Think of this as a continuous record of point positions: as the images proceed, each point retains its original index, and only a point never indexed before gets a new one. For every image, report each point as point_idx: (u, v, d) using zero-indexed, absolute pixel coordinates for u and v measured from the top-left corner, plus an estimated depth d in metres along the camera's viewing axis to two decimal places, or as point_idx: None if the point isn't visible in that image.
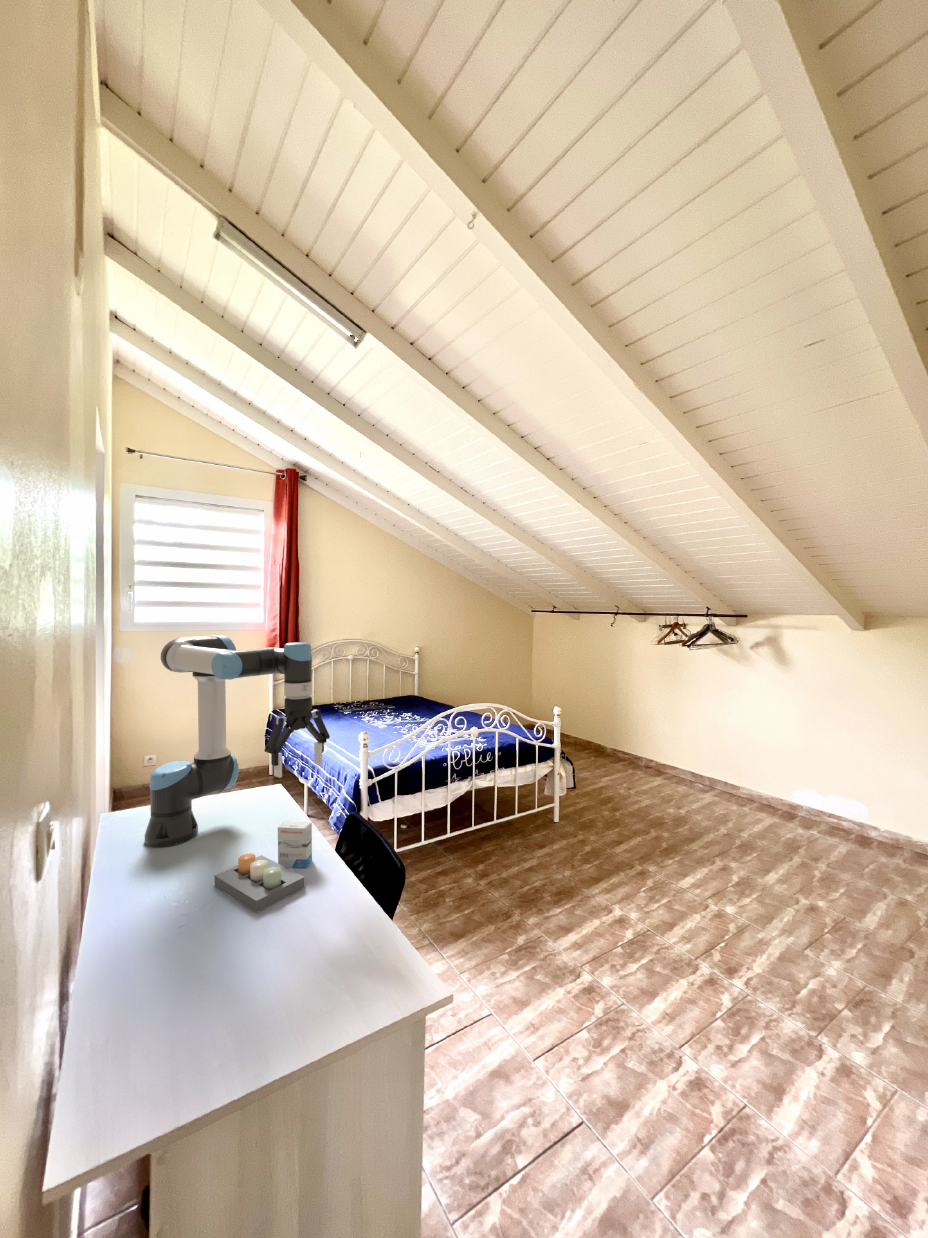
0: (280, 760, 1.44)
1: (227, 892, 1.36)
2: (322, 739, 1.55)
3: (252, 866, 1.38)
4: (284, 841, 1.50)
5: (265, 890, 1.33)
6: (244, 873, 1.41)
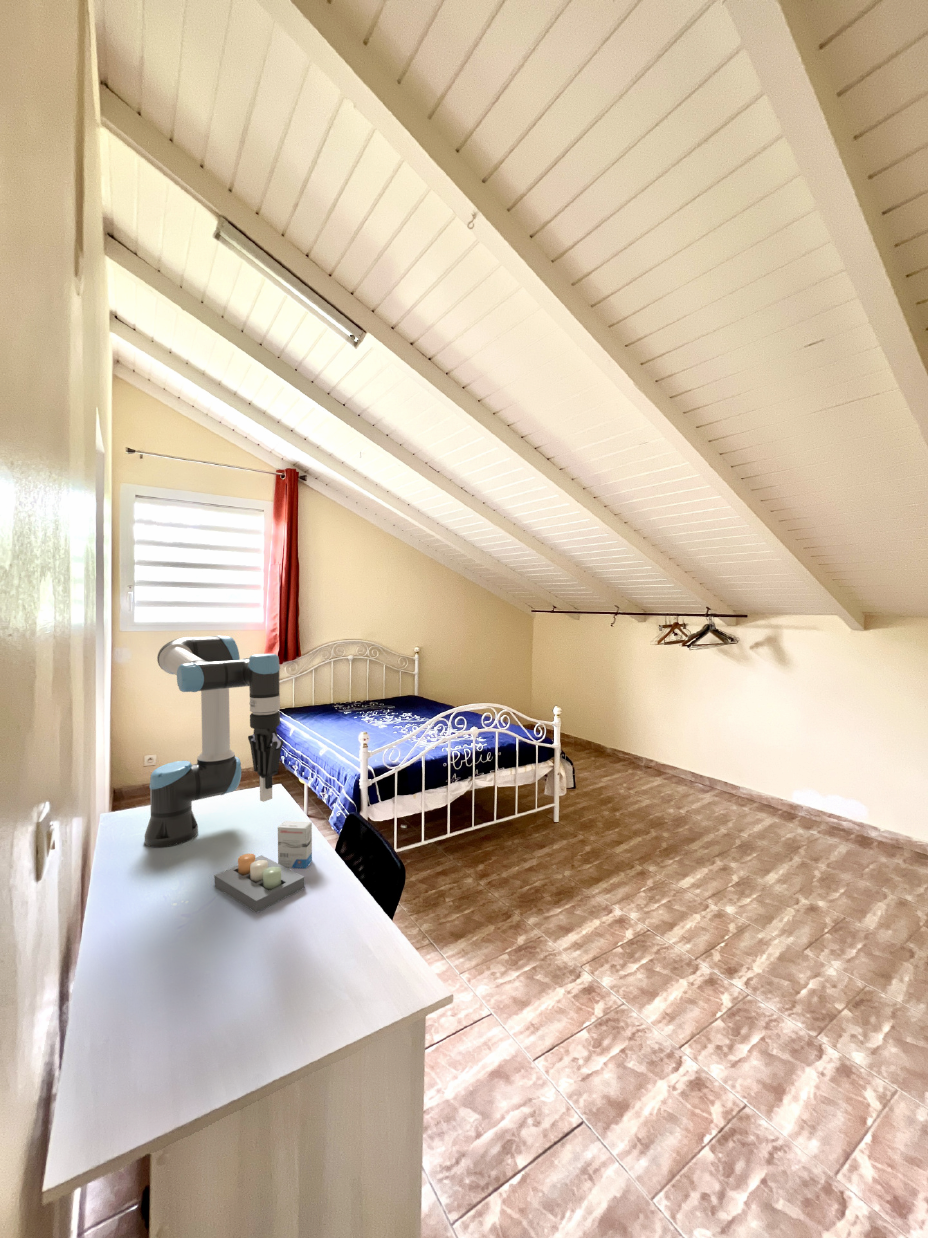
0: (260, 783, 1.39)
1: (227, 892, 1.36)
2: (264, 773, 1.38)
3: (252, 866, 1.38)
4: (284, 841, 1.50)
5: (265, 890, 1.33)
6: (244, 873, 1.41)
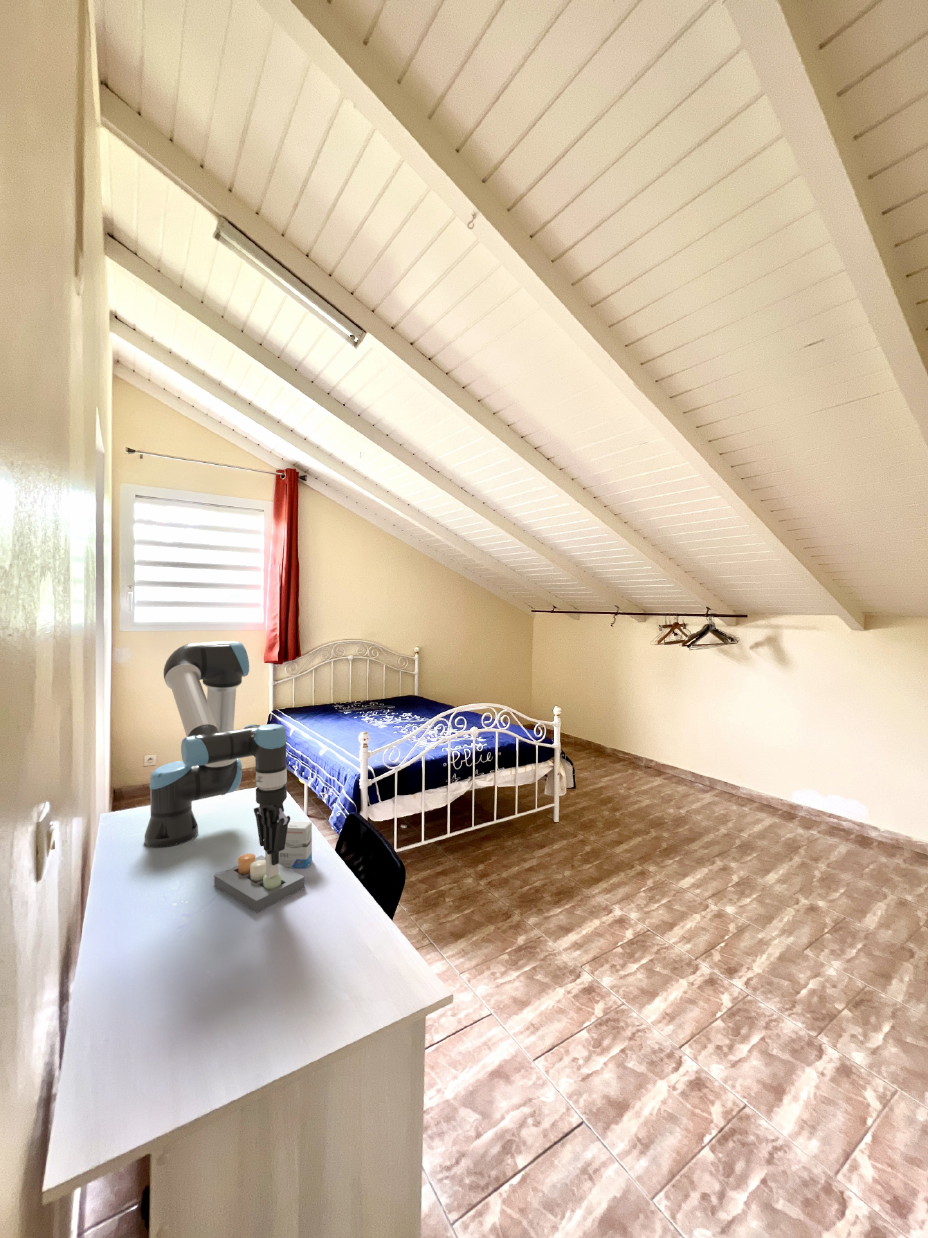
0: (266, 858, 1.35)
1: (227, 892, 1.36)
2: (270, 849, 1.34)
3: (252, 866, 1.38)
4: None
5: (265, 890, 1.33)
6: (244, 873, 1.41)
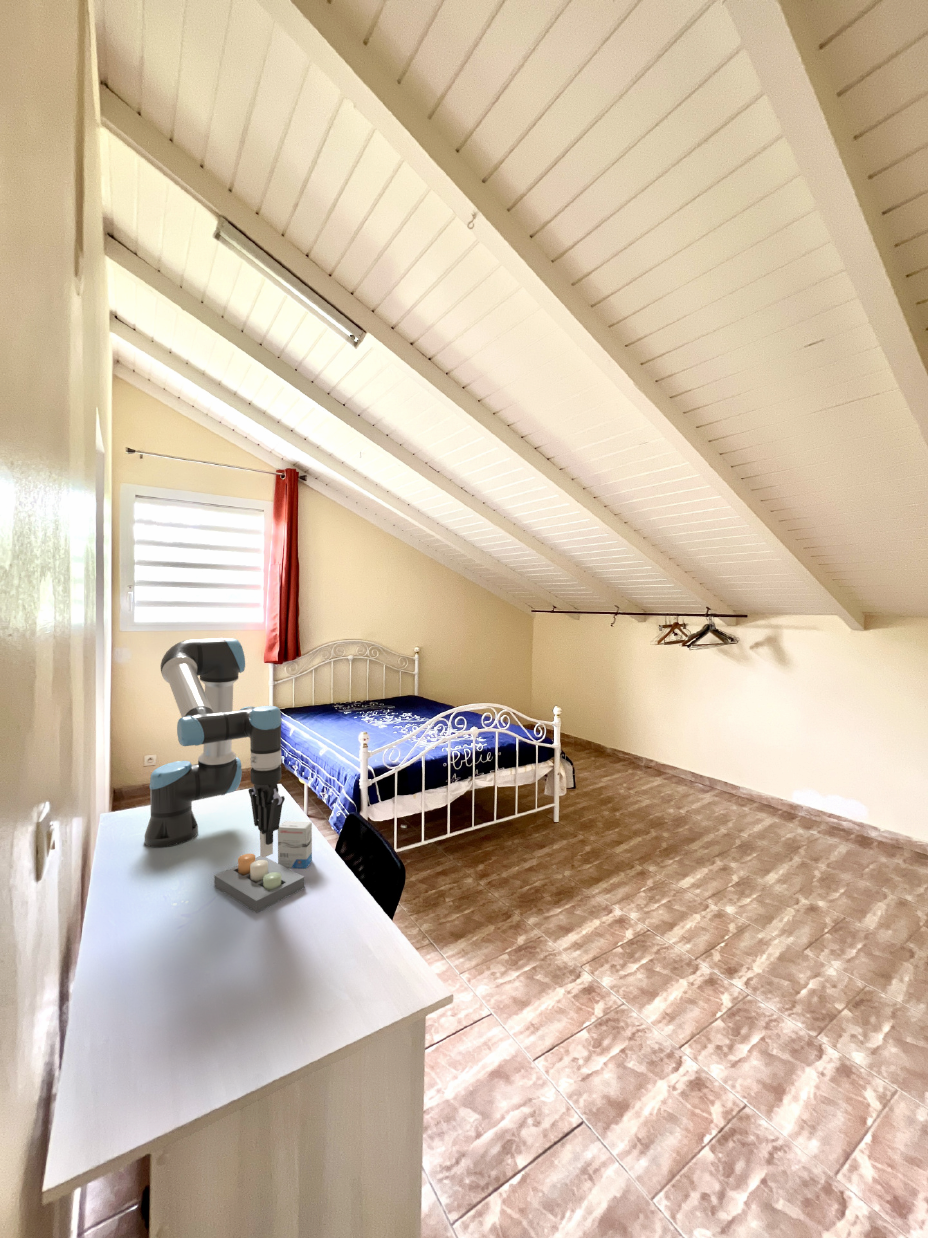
0: (261, 838, 1.37)
1: (227, 892, 1.36)
2: (264, 829, 1.36)
3: (252, 866, 1.38)
4: (284, 841, 1.50)
5: (265, 890, 1.33)
6: (244, 873, 1.41)
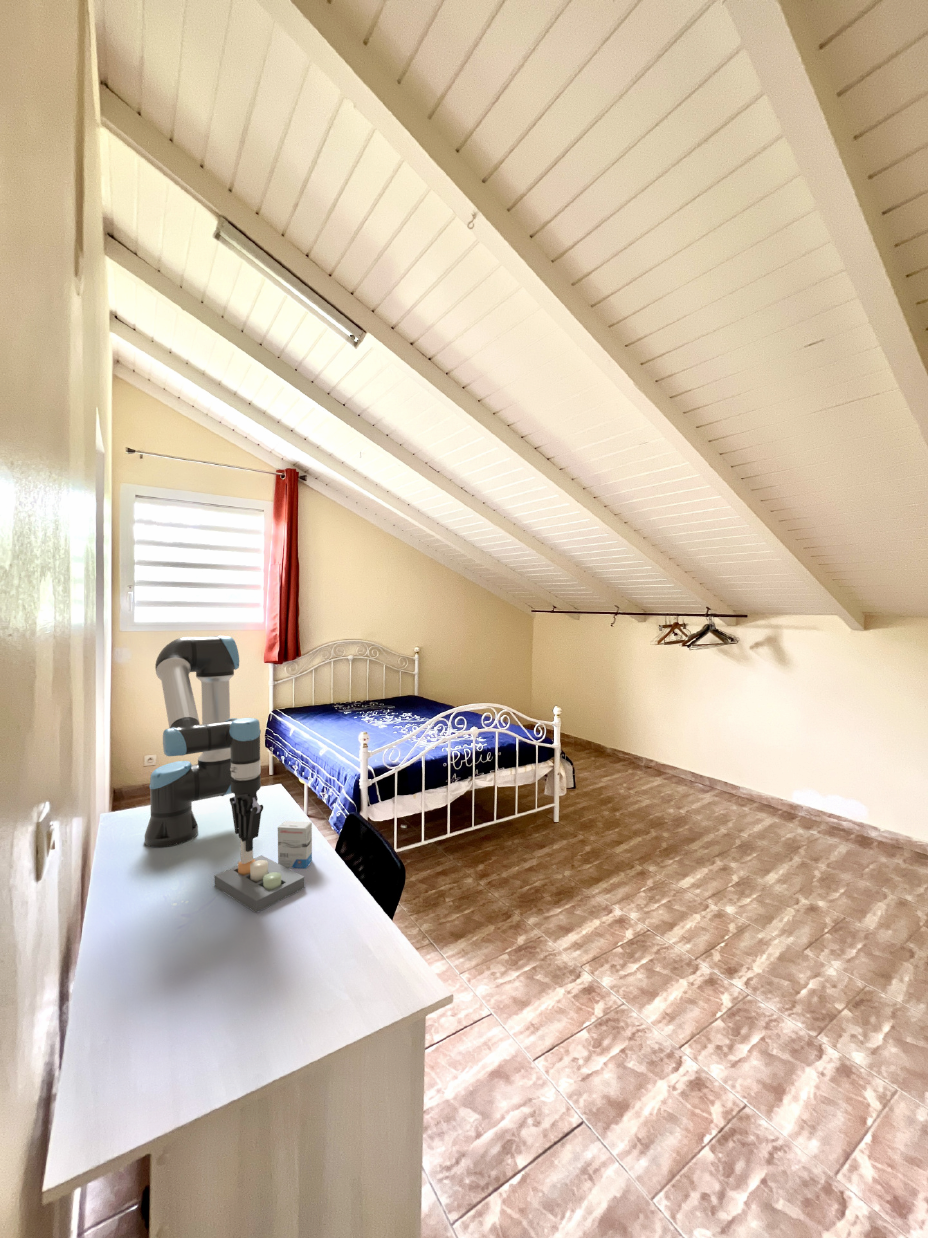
0: (241, 845, 1.42)
1: (227, 892, 1.36)
2: (244, 836, 1.41)
3: (252, 866, 1.38)
4: (284, 841, 1.50)
5: (265, 890, 1.33)
6: None
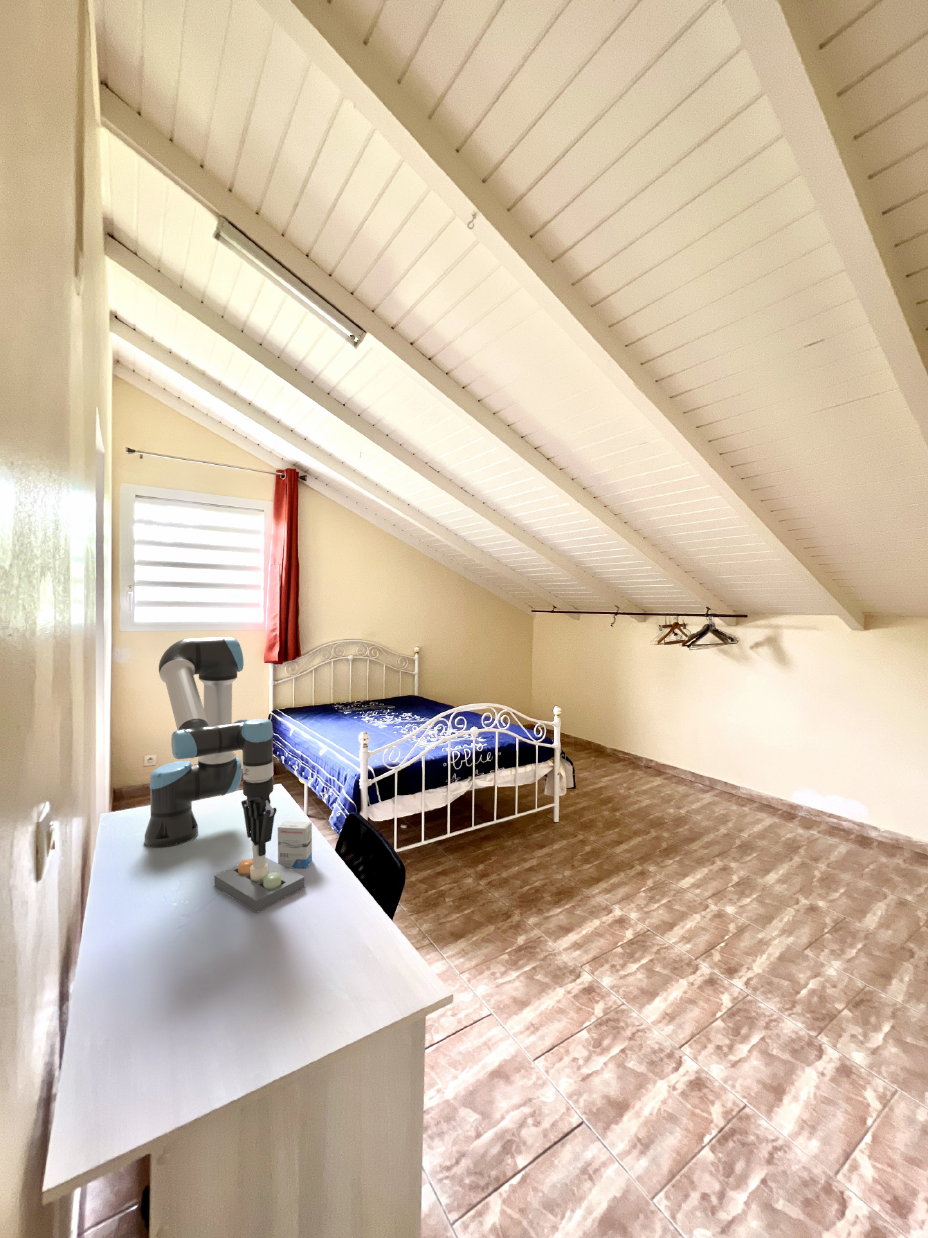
0: (253, 849, 1.38)
1: (227, 892, 1.36)
2: (257, 840, 1.37)
3: (252, 869, 1.38)
4: (284, 841, 1.50)
5: (265, 890, 1.33)
6: None
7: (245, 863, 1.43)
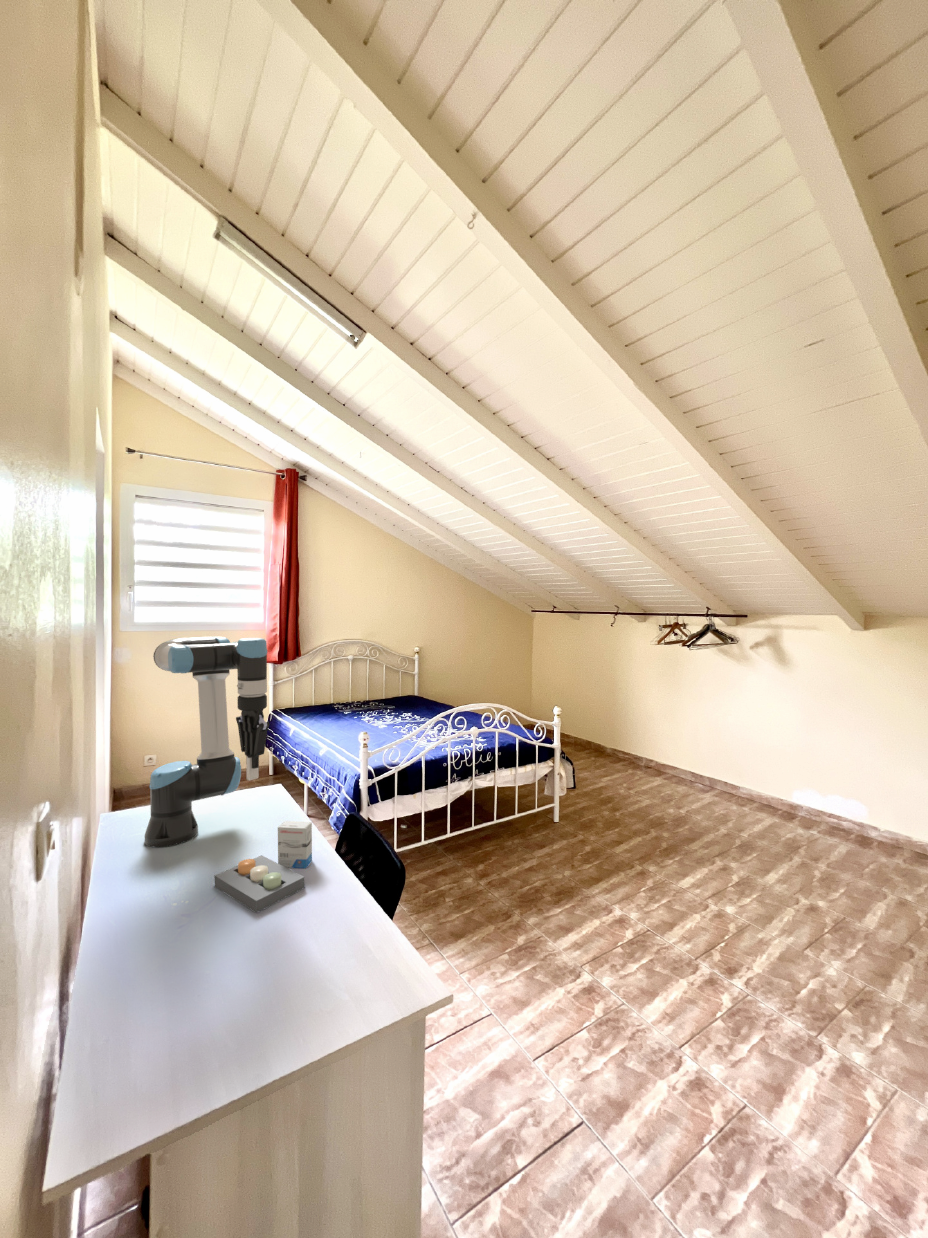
0: (247, 762, 1.44)
1: (227, 892, 1.36)
2: (250, 753, 1.43)
3: (252, 872, 1.38)
4: (284, 841, 1.50)
5: (265, 890, 1.33)
6: None
7: (245, 863, 1.43)
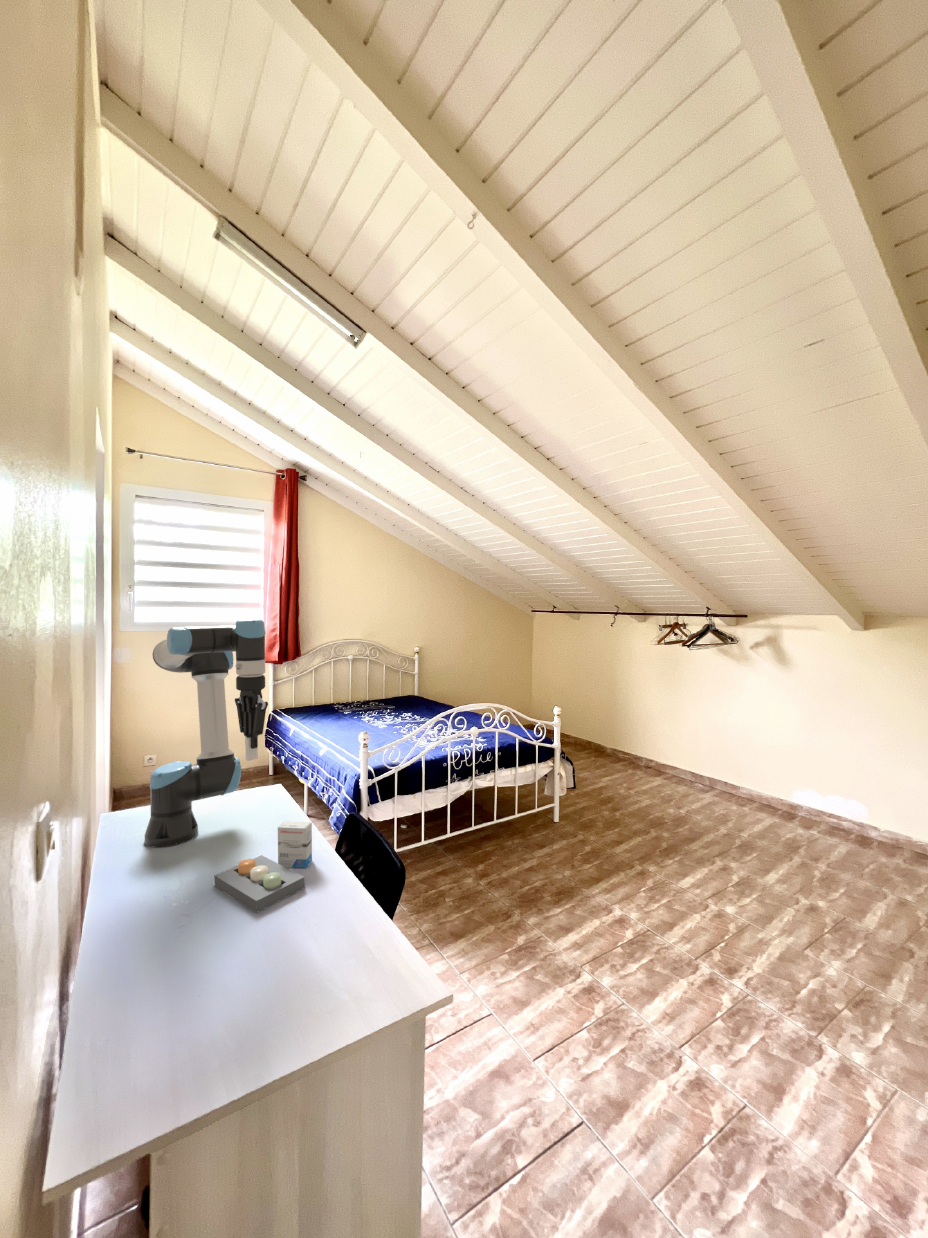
0: (246, 743, 1.45)
1: (227, 892, 1.36)
2: (249, 733, 1.44)
3: (252, 872, 1.38)
4: (284, 841, 1.50)
5: (265, 890, 1.33)
6: None
7: (245, 863, 1.43)
